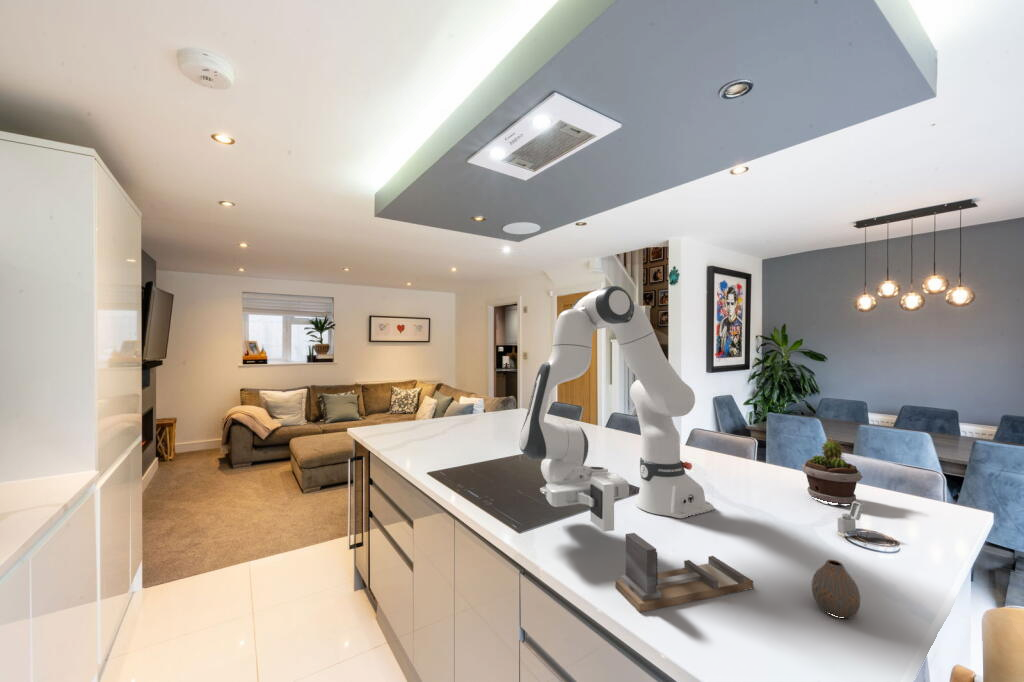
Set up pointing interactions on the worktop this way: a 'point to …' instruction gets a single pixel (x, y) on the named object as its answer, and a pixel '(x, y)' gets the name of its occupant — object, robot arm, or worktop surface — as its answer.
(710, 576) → the rail
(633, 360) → the robot arm
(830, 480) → the flowerpot
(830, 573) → the vase
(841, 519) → the lighter
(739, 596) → the worktop surface
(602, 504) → the white upright block
